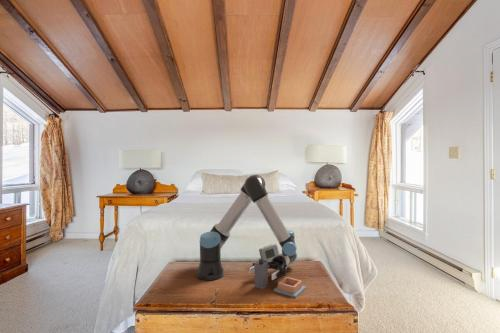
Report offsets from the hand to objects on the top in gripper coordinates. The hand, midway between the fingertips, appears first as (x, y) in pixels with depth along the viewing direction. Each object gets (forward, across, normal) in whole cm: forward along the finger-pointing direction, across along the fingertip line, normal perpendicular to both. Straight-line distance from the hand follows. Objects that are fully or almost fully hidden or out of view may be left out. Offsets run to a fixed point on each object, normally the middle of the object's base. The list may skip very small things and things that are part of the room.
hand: (260, 274), depth 141 cm
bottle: (-1, 0, -7) cm, 7 cm away
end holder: (-6, -14, -7) cm, 16 cm away
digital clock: (-33, +14, -7) cm, 37 cm away
